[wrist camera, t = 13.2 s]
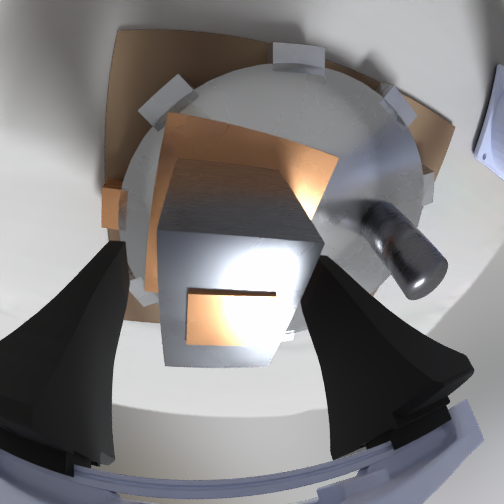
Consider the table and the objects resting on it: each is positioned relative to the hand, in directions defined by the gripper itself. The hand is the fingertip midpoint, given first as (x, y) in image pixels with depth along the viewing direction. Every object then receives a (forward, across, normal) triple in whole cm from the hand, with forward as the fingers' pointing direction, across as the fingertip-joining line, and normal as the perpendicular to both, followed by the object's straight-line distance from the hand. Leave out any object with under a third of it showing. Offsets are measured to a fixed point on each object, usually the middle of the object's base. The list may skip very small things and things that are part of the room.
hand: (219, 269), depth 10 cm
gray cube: (+2, 0, 0) cm, 2 cm away
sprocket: (+4, -4, 0) cm, 5 cm away
